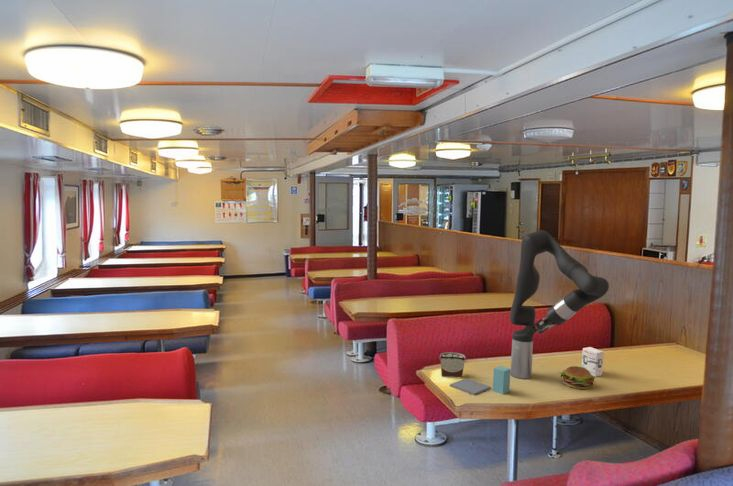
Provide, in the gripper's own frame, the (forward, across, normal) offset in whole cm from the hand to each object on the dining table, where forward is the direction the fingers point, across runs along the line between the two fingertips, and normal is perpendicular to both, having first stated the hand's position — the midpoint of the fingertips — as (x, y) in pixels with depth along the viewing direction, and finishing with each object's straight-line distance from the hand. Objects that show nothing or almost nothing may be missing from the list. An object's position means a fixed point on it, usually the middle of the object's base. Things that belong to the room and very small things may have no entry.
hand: (533, 333), depth 205 cm
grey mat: (+37, +7, +3) cm, 38 cm away
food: (+18, -34, +23) cm, 45 cm away
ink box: (+19, -54, +21) cm, 61 cm away
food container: (+48, +1, -8) cm, 49 cm away
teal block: (+30, 0, +10) cm, 31 cm away
